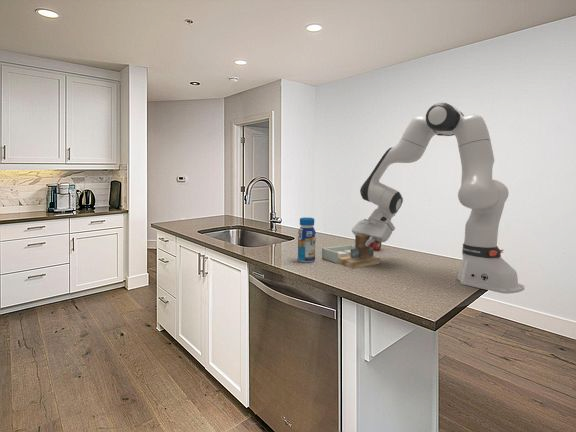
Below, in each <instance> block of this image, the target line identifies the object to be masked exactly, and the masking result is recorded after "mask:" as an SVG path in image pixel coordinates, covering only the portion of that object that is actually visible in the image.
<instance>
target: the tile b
mask: <svg viewBox="0 0 576 432" xmlns="http://www.w3.org/2000/svg"><path fill="white" fill-rule="evenodd" d="M341 257H348V253H345V252H341V251H340V252H338V258H341Z"/></svg>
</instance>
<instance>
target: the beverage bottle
mask: <svg viewBox="0 0 576 432" xmlns="http://www.w3.org/2000/svg"><path fill="white" fill-rule="evenodd" d="M299 226H300V228H299V229H298V231H297V232H298V233H297V234H298V236H297V261H298V262H301V263H313V262H315V261H316V240H317V238H316V234H317V232H316V229H315V228H314V226H315V218H314V217H300V218H299Z"/></svg>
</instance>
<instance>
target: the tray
mask: <svg viewBox="0 0 576 432" xmlns="http://www.w3.org/2000/svg"><path fill="white" fill-rule="evenodd" d="M321 249H322V250H321V259H323V260H325V261H328V262H331V263H334V264H339V263H338V252H340V251H341V252H344V250H351V249H355V245H353V244H346V245H339V246H330V247H322V248H321Z"/></svg>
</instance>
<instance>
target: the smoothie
mask: <svg viewBox="0 0 576 432" xmlns="http://www.w3.org/2000/svg"><path fill="white" fill-rule="evenodd" d="M382 243H383V242H381V241H376V240H374V242H372V243H371V244H369V247H373V252H374V251H375V252H378V251H381V248H382Z"/></svg>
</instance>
